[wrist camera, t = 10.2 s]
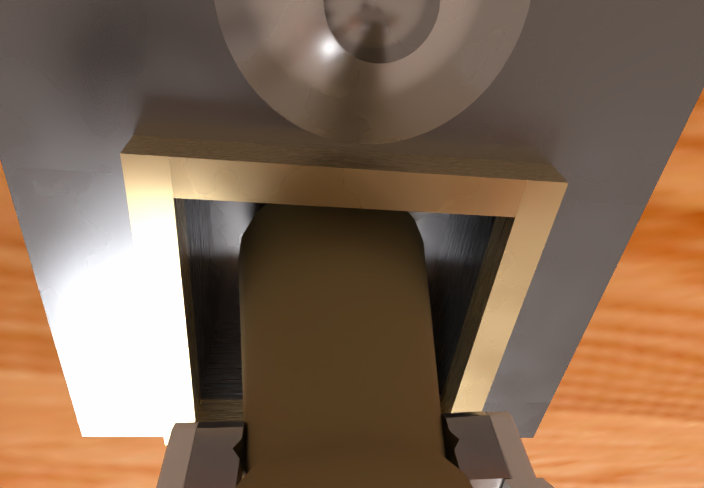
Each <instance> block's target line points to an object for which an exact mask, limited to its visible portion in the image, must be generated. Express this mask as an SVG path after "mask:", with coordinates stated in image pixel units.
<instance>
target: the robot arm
mask: <svg viewBox="0 0 704 488" xmlns="http://www.w3.org/2000/svg"><path fill="white" fill-rule="evenodd" d="M441 418H442V428H443V437H444V447H445V457H446V459H447V460H448V461H450V462H451V463H452V464H453V465H455V466H456V467H457V468H458V469H460V470H461V471H462V472H463V473H464V474H465V475H466V476H467V478H468V480H469V482H470V483H471V485H472V487H473V488H554V487H553V486H551V485H550V484H549V483H548V482H547V481H546V480H545V479H544V478H536V476H535V473H534V471H533V468H532V466H531V463H530V461H529V458H528V456H527V453H526V450H525V448H524V445H523V443H522V440H521V438H520V435H519V433H518V430H517V428H516V425H515V423H514V420H513V418H512V415H511V414H510V413H509V412H508V411H492V412H484V411H477V412H458V413H442V414H441ZM245 445H246V421H230V422H180V423H175V424H174V426H173V428H172V430H171V433H170V437H169V440H168V444H167V448H166V452H165V456H164V460H163V464H162V468H161V472H160V476H159V479H158V483H157V487H156V488H235V487H236V486H237V485H238V484H239V483H240V481H241V480H242V479H243V478H244V477H245V476H246V473H245Z"/></svg>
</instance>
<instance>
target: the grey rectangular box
mask: <svg viewBox="0 0 704 488" xmlns="http://www.w3.org/2000/svg"><path fill="white" fill-rule="evenodd" d="M703 88H704V0H0V160H1V163H2V166H3V170H4V173H5V177H6V180H7V183H8V187H9V190H10V193H11V197H12V200H13V204H14V207H15V210H16V214H17V217H18V220H19V224H20V227H21V231H22V234H23V237H24V241H25V244H26V248H27V251H28V254H29V258H30V261H31V264H32V268H33V271H34V275H35V278H36V281H37V285H38V288H39V291H40V295H41V298H42V302H43V305H44V308H45V312H46V315H47V318H48V322H49V325H50V329H51V332H52V335H53V339H54V342H55V345H56V349H57V352H58V356H59V359H60V362H61V366H62V369H63V372H64V376H65V379H66V383H67V386H68V389H69V393H70V396H71V400H72V403H73V406H74V410H75V413H76V416H77V420H78V423H79V427H80V430H81V433H82V437H164V441H165V445H167V444H168V440H169V437H170V433H171V430H172V428H173V426H174V424H175V423H180V422H230V421H244V415H243V385H242V356H241V327H240V297H239V268H238V259H239V252H240V246H241V239H242V235H243V234H244V232H245V230H246V228H247V227H248V225H249V223H250V222H251V220H252V218H253V217H254V215H255V213H256V212H258V211H259V210H260V209H261V208H262V207H264V206H265V205H266V204H267V203H272V204H289V205H307V206H325V207H343V208H360V209H378V210H396V211H407V212H408V213H409V214H410V215H411V216H412V217H413V218H414V219H415V222H416V224H417V227H418V229H419V232H420V234H421V237H422V239H423V242H424V251H425V261H426V270H427V280H428V290H429V300H430V310H431V319H432V329H433V339H434V349H435V359H436V369H437V378H438V388H439V398H440V408H441V414H442V413H458V412H477V411H484V412H492V411H508V412H509V413H510V414H511V415H512V418H513V420H514V423H515V425H516V428H517V430H518V433H519V435H520V438H533V437H534V435H535V433H536V430H537V428H538V426H539V424H540V422H541V420H542V418H543V416H544V414H545V412H546V410H547V408H548V406H549V404H550V402H551V400H552V398H553V396H554V394H555V391H556V389H557V387H558V385H559V383H560V381H561V379H562V377H563V375H564V373H565V371H566V369H567V367H568V365H569V363H570V361H571V359H572V357H573V355H574V352H575V350H576V348H577V346H578V344H579V342H580V340H581V338H582V336H583V334H584V332H585V330H586V328H587V326H588V324H589V322H590V320H591V318H592V315H593V313H594V311H595V309H596V307H597V305H598V303H599V301H600V299H601V297H602V295H603V293H604V291H605V289H606V287H607V285H608V283H609V281H610V279H611V276H612V274H613V272H614V270H615V268H616V266H617V264H618V262H619V260H620V258H621V256H622V254H623V252H624V250H625V248H626V246H627V244H628V242H629V240H630V237H631V235H632V233H633V231H634V229H635V227H636V225H637V223H638V221H639V219H640V217H641V215H642V213H643V211H644V209H645V207H646V205H647V203H648V200H649V198H650V196H651V194H652V192H653V190H654V188H655V186H656V184H657V182H658V180H659V178H660V176H661V174H662V172H663V170H664V168H665V166H666V164H667V161H668V159H669V157H670V155H671V153H672V151H673V149H674V147H675V145H676V143H677V141H678V139H679V137H680V135H681V133H682V131H683V129H684V127H685V124H686V122H687V120H688V118H689V116H690V114H691V112H692V110H693V108H694V106H695V104H696V102H697V100H698V98H699V96H700V94H701V92H702V90H703Z"/></svg>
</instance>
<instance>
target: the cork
mask: <svg viewBox="0 0 704 488" xmlns="http://www.w3.org/2000/svg"><path fill="white" fill-rule="evenodd" d="M238 268H239V297H240V327H241V356H242V385H243V415H244V421H246V445H245V473H246V476H245V477H244V478H243V479H242V480H241V481H240V483H239V484H238V485H237V486H236V487H235V488H473V487H472V485H471V483H470V482H469V480H468V478H467V476H466V475H465V474H464V473H463V472H462V471H461V470H460V469H458V468H457V467H456V466H455V465H453V464H452V463H451V462H450V461H448V460H447V459H446V457H445V447H444V437H443V428H442V418H441V408H440V398H439V388H438V378H437V369H436V359H435V349H434V339H433V329H432V319H431V310H430V300H429V290H428V280H427V270H426V261H425V251H424V242H423V239H422V237H421V234H420V232H419V229H418V227H417V224H416V222H415V219H414V218H413V217H412V216H411V215H410V214H409V213H408V212H407V211H396V210H378V209H360V208H343V207H325V206H307V205H289V204H272V203H267V204H266V205H265V206H264V207H262V208H261V209H260V210H259V211H258V212H256V213H255V215H254V217H253V218H252V220H251V222H250V223H249V225H248V227H247V228H246V230H245V232H244V234H243V235H242V239H241V246H240V252H239V259H238Z"/></svg>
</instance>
